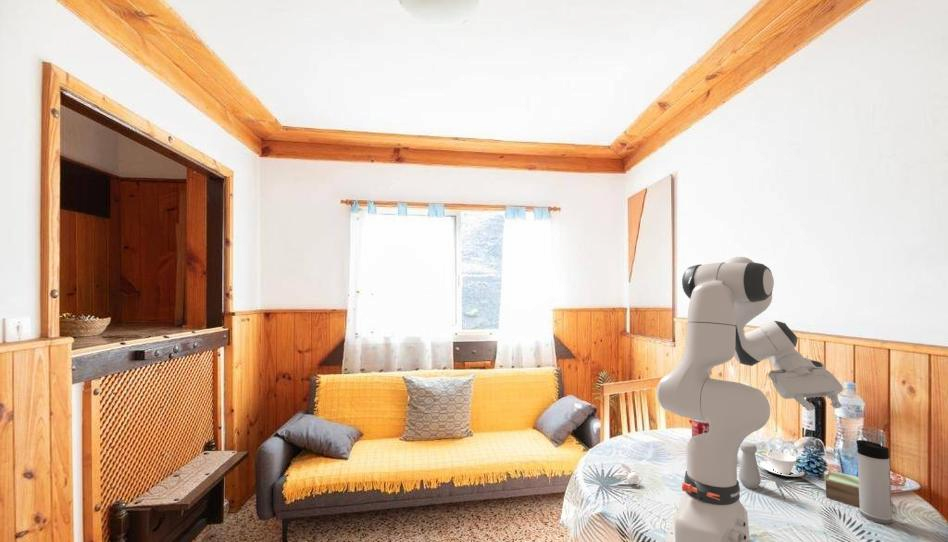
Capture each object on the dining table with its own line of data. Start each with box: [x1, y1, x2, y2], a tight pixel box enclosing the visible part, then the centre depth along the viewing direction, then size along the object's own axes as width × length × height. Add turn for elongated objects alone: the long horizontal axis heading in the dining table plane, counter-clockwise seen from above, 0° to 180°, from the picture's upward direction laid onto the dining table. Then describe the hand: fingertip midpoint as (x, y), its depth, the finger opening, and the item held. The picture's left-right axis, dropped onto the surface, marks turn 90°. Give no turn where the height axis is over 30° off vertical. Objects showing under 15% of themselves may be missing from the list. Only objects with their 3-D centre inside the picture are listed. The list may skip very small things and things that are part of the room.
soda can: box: [691, 419, 710, 438], centre depth 155 cm, size 7×7×12 cm
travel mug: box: [856, 439, 893, 525], centre depth 111 cm, size 6×7×20 cm
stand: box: [825, 470, 860, 508], centre depth 121 cm, size 9×9×5 cm
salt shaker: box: [738, 441, 762, 490], centre depth 129 cm, size 6×6×13 cm
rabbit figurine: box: [613, 460, 642, 488], centre depth 131 cm, size 6×4×8 cm
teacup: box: [759, 451, 805, 478], centre depth 138 cm, size 12×12×5 cm
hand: (825, 408), depth 124 cm, fingers open, 8 cm apart
